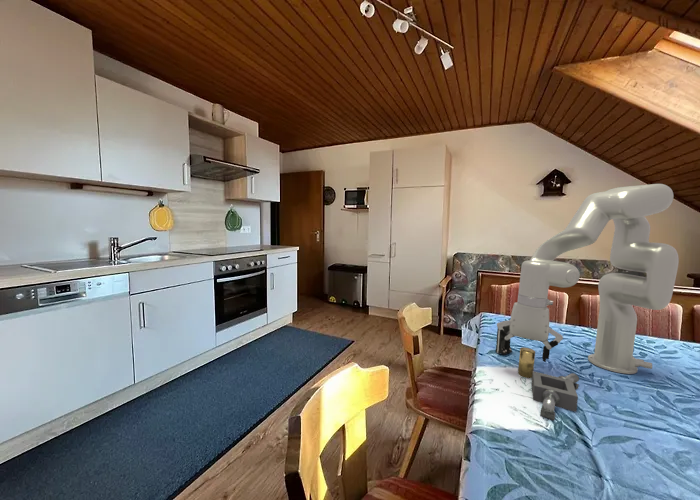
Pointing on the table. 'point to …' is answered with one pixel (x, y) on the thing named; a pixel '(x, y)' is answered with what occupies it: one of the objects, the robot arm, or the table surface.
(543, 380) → the grey square frame
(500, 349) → the battery charger
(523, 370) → the yellow cylinder
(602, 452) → the table surface
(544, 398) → the shaft
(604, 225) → the robot arm
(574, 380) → the shaft
